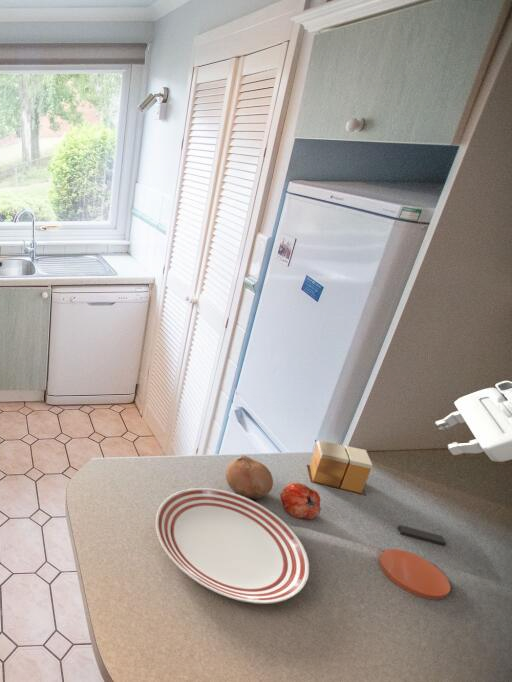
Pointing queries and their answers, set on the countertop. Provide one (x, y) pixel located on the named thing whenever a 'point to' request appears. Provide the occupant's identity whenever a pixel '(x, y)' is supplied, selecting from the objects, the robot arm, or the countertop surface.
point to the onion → (249, 478)
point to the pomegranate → (300, 501)
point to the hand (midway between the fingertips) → (443, 438)
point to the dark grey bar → (421, 535)
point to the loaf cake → (329, 465)
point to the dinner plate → (232, 545)
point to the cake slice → (356, 469)
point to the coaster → (414, 574)
